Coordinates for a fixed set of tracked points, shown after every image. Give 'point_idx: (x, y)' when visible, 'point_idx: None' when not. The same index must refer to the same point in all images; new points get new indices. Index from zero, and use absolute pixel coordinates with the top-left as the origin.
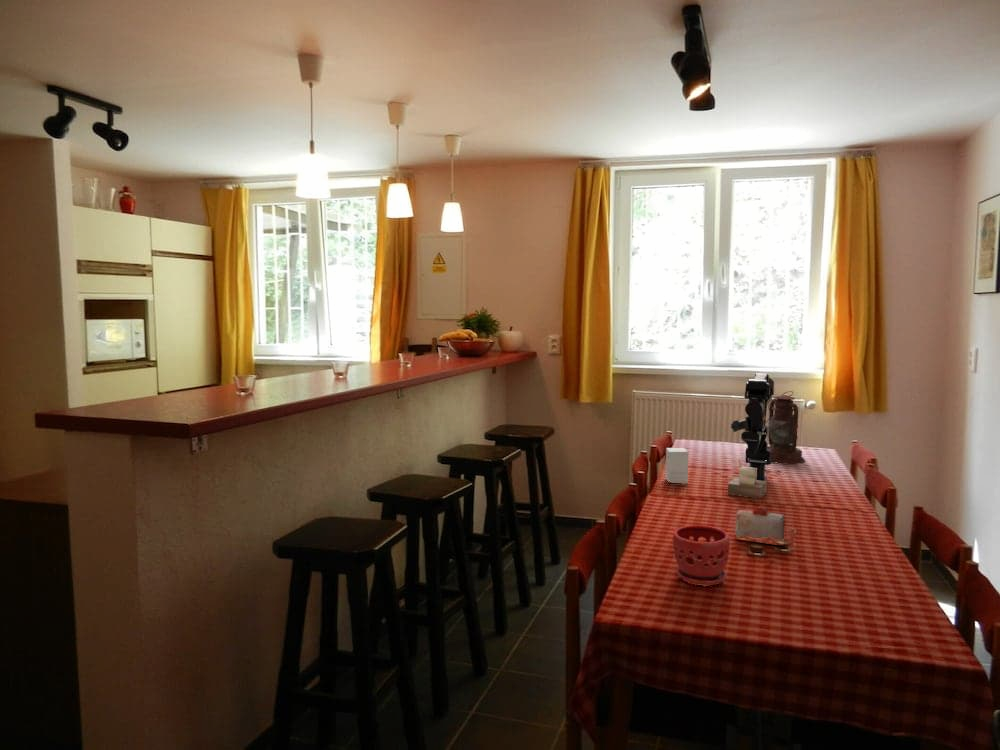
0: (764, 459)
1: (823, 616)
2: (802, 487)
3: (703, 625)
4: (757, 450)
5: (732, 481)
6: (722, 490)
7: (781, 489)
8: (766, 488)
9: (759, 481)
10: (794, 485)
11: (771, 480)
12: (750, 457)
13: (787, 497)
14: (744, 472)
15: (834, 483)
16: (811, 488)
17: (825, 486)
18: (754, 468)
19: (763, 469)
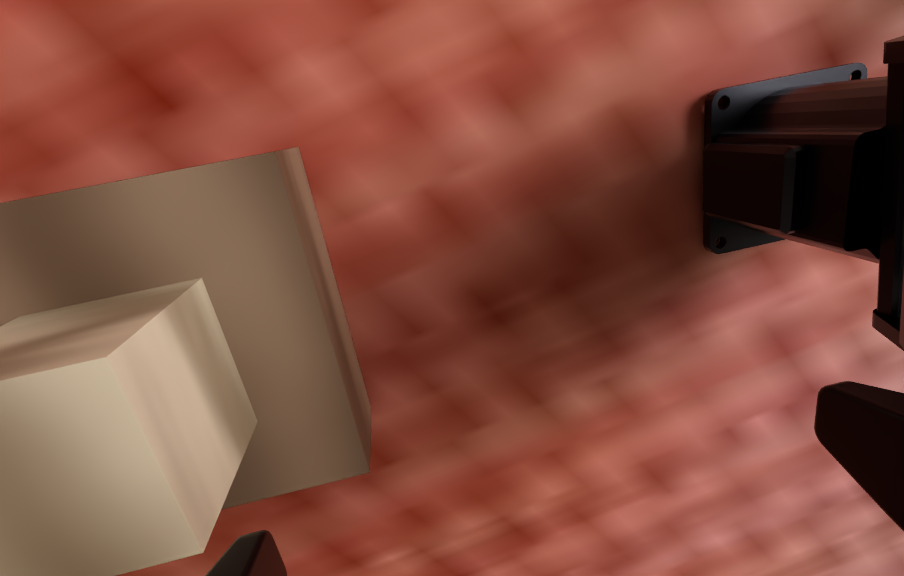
0: (902, 340)
1: None
2: (677, 504)
3: None
4: (879, 459)
5: (10, 225)
6: (76, 86)
7: (534, 444)
8: (370, 427)
9: (298, 435)
10: (703, 452)
11: (772, 280)
12: (245, 537)
13: (339, 557)
14: None
15: (871, 568)
16: (682, 545)
17: (775, 569)
18: (144, 543)
19: (834, 251)
